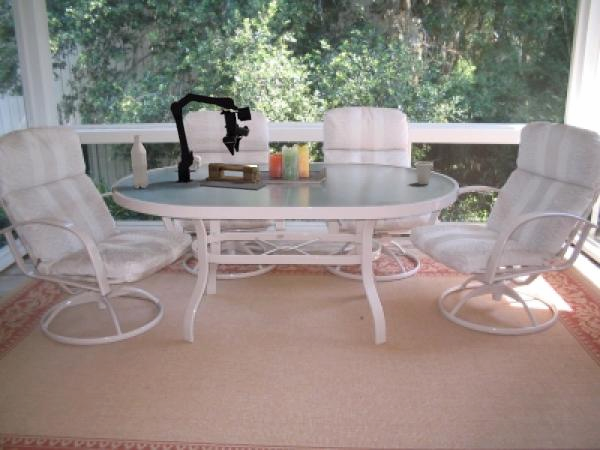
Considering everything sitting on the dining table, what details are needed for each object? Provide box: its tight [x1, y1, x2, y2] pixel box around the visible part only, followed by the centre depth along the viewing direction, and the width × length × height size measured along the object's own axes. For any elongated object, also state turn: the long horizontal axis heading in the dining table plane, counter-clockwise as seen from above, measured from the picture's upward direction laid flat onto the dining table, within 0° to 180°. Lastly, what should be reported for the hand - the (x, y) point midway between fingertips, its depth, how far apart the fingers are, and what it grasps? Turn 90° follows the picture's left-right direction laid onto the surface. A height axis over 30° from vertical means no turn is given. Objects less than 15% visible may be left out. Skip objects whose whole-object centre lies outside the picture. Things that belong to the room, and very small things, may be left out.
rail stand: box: [205, 162, 263, 184], centre depth 300 cm, size 9×27×8 cm, turn 71°
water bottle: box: [130, 134, 149, 190], centre depth 283 cm, size 7×7×25 cm
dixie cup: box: [415, 161, 433, 185], centre depth 293 cm, size 8×8×10 cm
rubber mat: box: [200, 181, 267, 191], centre depth 290 cm, size 11×30×1 cm, turn 71°
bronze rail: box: [208, 162, 259, 173], centre depth 300 cm, size 4×26×4 cm, turn 71°
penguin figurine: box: [189, 154, 202, 172], centre depth 329 cm, size 6×8×12 cm
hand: (235, 153), depth 301 cm, fingers open, 9 cm apart
